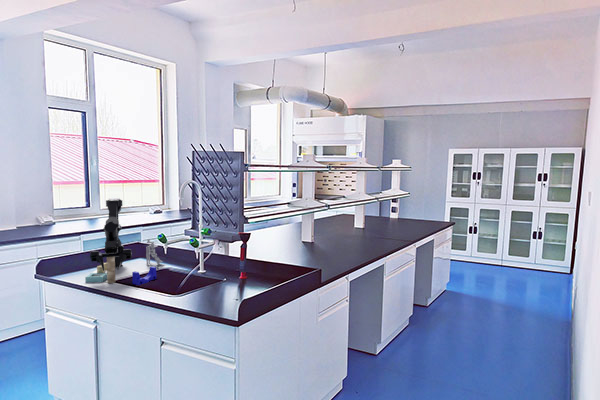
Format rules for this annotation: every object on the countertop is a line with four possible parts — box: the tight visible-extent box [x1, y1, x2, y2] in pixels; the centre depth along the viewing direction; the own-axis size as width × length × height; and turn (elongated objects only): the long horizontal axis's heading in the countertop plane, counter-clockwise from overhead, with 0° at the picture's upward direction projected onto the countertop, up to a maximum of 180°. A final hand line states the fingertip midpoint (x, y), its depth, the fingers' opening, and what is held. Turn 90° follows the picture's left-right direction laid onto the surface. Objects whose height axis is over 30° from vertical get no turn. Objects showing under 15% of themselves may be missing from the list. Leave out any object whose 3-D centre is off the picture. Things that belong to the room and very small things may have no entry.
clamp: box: [145, 238, 164, 267], centre depth 229 cm, size 4×10×15 cm, turn 89°
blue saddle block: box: [132, 266, 157, 286], centre depth 198 cm, size 12×4×6 cm, turn 151°
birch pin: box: [106, 257, 116, 284], centre depth 196 cm, size 4×4×12 cm
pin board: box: [84, 262, 107, 283], centre depth 204 cm, size 17×8×6 cm, turn 6°
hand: (110, 269), depth 194 cm, fingers open, 6 cm apart
